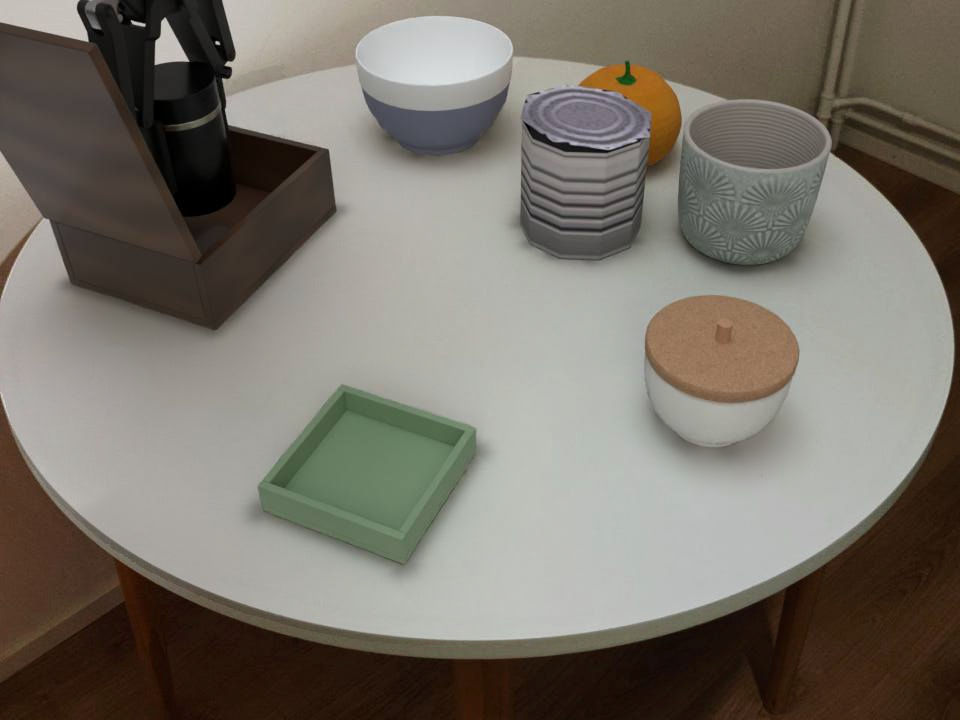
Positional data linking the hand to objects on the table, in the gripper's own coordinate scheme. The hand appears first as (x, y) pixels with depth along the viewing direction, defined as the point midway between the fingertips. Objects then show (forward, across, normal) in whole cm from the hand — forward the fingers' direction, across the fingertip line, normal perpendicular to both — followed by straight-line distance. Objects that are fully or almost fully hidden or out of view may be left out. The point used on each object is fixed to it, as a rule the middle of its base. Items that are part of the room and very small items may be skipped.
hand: (190, 167), depth 91 cm
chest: (+8, 0, 0) cm, 8 cm away
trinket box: (+9, -3, -48) cm, 49 cm away
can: (+9, +17, -30) cm, 36 cm away
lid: (-9, -12, 0) cm, 15 cm away
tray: (+9, -19, -28) cm, 35 cm away
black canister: (+3, 0, 0) cm, 3 cm away
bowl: (+8, +27, -10) cm, 30 cm away
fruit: (+8, +31, -29) cm, 43 cm away
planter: (+9, +21, -44) cm, 50 cm away
